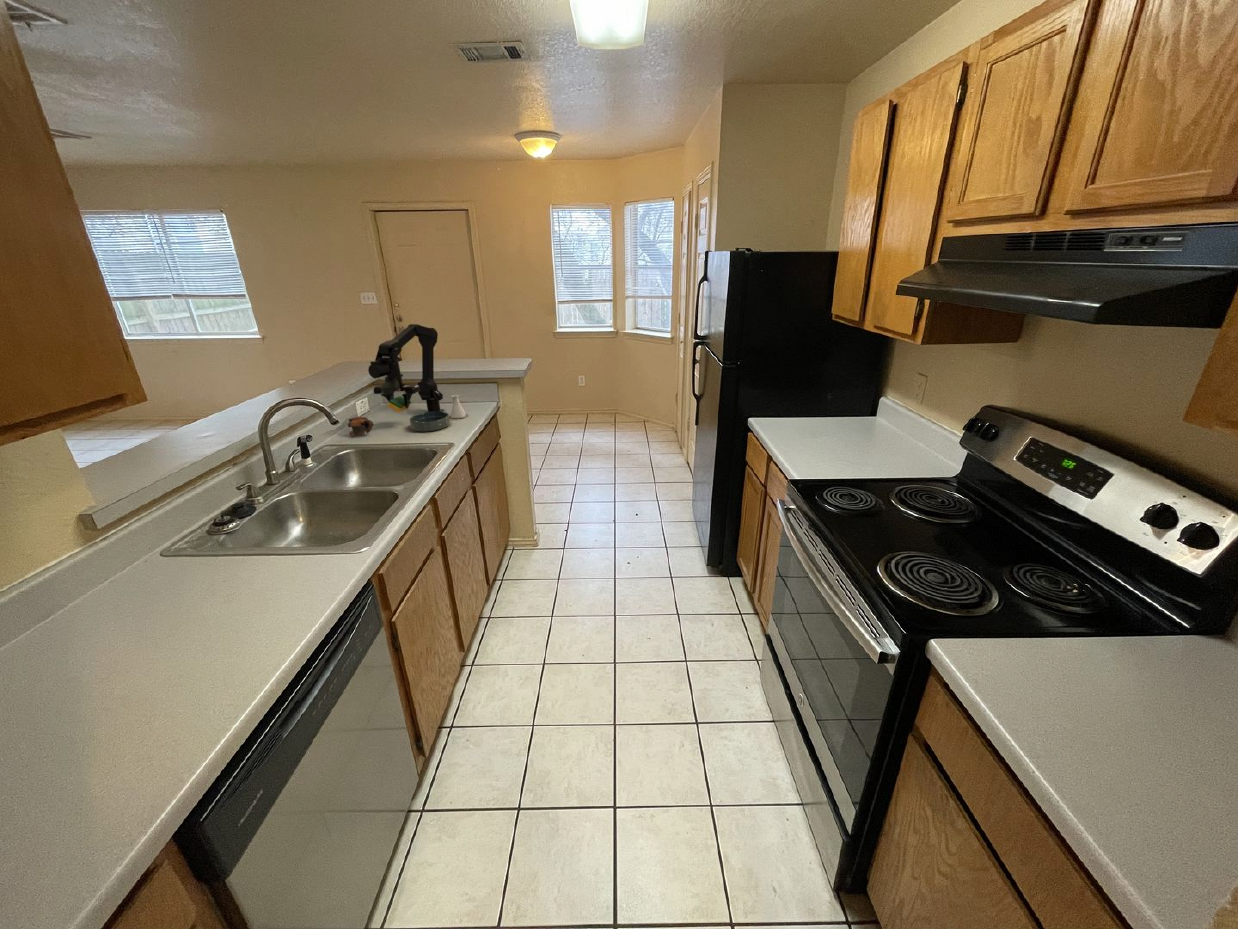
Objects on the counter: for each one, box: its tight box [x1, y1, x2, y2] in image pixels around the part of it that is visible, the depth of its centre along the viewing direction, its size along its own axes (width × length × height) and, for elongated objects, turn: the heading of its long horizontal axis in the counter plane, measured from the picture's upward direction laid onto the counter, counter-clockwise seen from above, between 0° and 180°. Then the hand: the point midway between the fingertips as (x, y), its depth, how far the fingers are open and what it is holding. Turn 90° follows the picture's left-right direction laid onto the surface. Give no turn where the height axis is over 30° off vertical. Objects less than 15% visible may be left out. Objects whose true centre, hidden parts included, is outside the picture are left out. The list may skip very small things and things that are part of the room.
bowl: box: [409, 411, 451, 433], centre depth 221 cm, size 16×16×4 cm
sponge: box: [387, 395, 412, 413], centre depth 222 cm, size 9×6×3 cm, turn 173°
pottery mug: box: [346, 416, 374, 438], centre depth 215 cm, size 12×10×8 cm
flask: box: [450, 394, 467, 419], centre depth 233 cm, size 7×7×10 cm
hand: (400, 408), depth 222 cm, fingers closed on sponge, 6 cm apart
